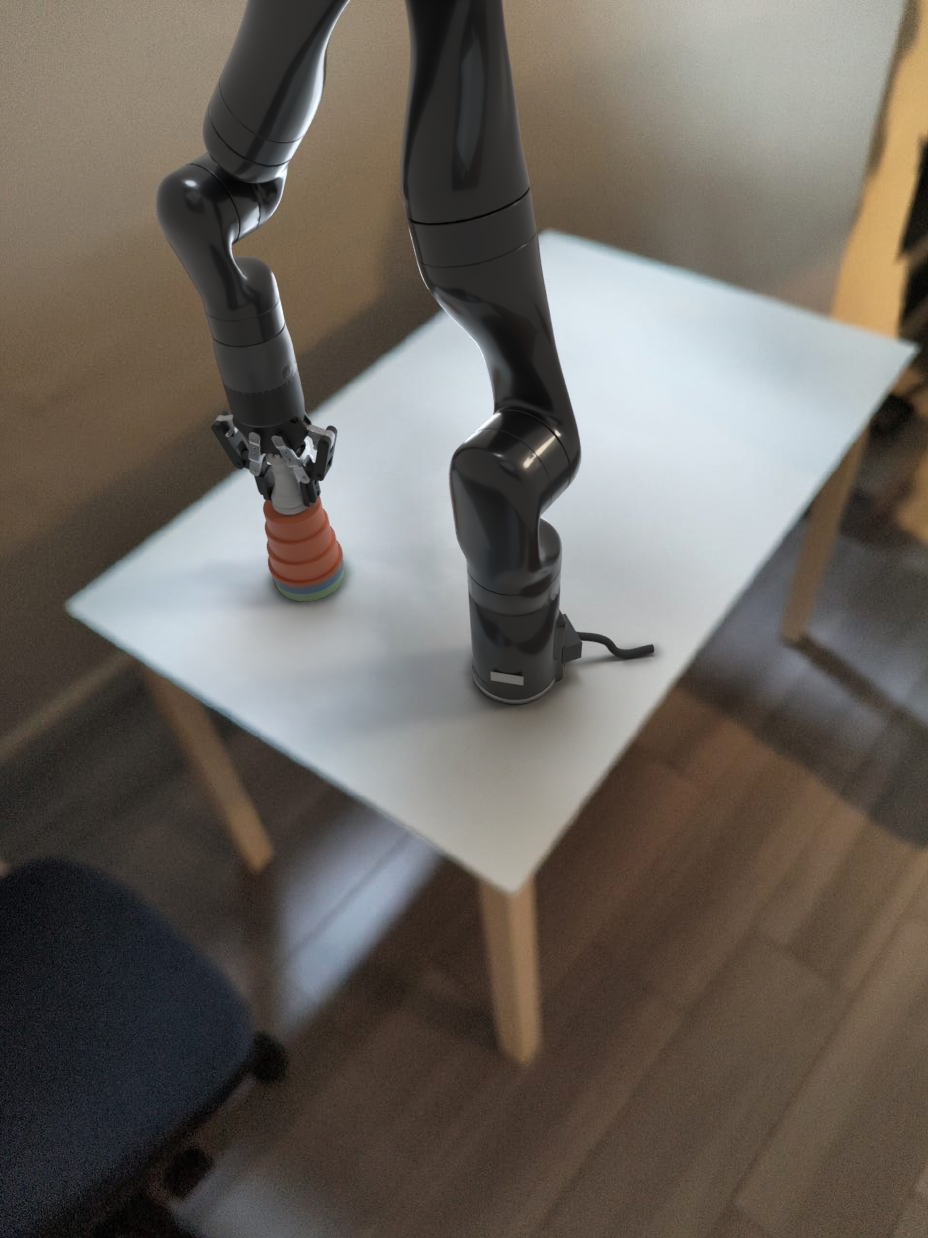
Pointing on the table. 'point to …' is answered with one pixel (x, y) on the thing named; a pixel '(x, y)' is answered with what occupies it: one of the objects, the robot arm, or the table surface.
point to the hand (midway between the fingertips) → (290, 498)
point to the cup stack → (303, 552)
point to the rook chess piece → (285, 487)
